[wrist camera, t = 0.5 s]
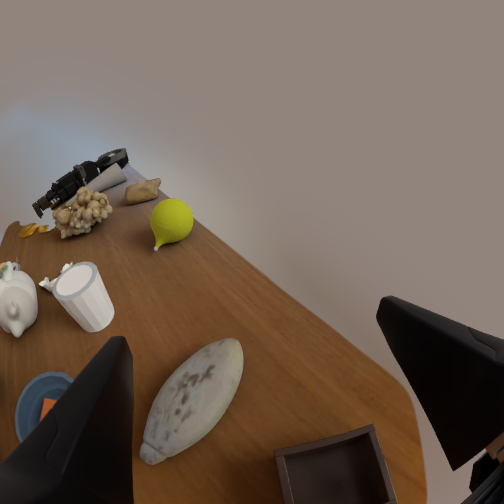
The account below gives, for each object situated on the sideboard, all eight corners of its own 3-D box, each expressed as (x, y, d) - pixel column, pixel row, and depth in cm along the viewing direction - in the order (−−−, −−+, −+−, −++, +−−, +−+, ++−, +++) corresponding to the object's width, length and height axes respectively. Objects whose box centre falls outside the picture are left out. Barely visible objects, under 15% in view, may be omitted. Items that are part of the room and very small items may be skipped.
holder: (377, 503, 13) (398, 503, 10) (288, 530, 12) (292, 538, 9) (357, 435, 19) (373, 423, 16) (273, 457, 18) (274, 449, 15)
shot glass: (97, 292, 35) (78, 256, 31) (127, 307, 33) (107, 267, 29) (69, 324, 30) (44, 289, 26) (97, 344, 28) (69, 307, 24)
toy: (26, 195, 59) (97, 148, 76) (36, 214, 64) (104, 166, 81) (34, 205, 53) (116, 150, 70) (46, 226, 58) (123, 171, 75)
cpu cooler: (93, 161, 75) (103, 152, 83) (97, 176, 79) (106, 166, 87) (120, 153, 76) (127, 145, 84) (124, 169, 80) (131, 160, 88)
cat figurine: (-4, 252, 29) (-15, 288, 20) (35, 252, 35) (37, 288, 26) (0, 302, 31) (-3, 351, 22) (36, 302, 37) (44, 349, 28)
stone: (162, 197, 57) (163, 184, 65) (156, 178, 54) (158, 167, 62) (126, 210, 56) (131, 195, 64) (119, 191, 53) (125, 179, 61)
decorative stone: (129, 447, 18) (111, 438, 16) (211, 338, 29) (205, 319, 27) (180, 483, 16) (166, 481, 14) (261, 359, 26) (259, 342, 24)
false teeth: (75, 271, 36) (81, 281, 38) (68, 253, 40) (73, 263, 41) (38, 294, 32) (45, 304, 34) (34, 274, 35) (40, 284, 37)
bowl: (106, 483, 15) (85, 478, 12) (29, 460, 14) (9, 450, 12) (111, 388, 23) (95, 374, 21) (42, 382, 23) (25, 367, 20)
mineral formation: (96, 206, 58) (131, 210, 52) (60, 244, 50) (89, 256, 44) (81, 180, 53) (114, 178, 46) (42, 218, 45) (67, 224, 39)
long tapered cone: (76, 223, 62) (128, 180, 68) (63, 205, 58) (116, 162, 65) (76, 219, 66) (125, 180, 73) (64, 203, 63) (114, 163, 69)
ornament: (197, 210, 39) (158, 265, 38) (205, 219, 46) (171, 266, 46) (162, 185, 39) (125, 237, 39) (174, 196, 46) (142, 242, 46)
